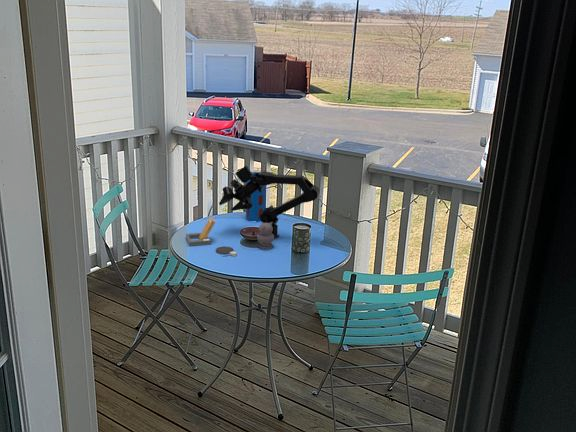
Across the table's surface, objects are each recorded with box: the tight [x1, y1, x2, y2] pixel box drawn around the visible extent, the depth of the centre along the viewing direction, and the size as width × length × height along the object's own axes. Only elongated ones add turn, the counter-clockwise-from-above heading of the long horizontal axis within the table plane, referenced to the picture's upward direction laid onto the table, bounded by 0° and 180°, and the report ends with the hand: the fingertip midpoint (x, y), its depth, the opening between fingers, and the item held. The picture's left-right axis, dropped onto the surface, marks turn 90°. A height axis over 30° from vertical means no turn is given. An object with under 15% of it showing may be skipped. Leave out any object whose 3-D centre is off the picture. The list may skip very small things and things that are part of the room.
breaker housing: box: [185, 232, 212, 247], centre depth 266 cm, size 10×11×3 cm
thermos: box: [245, 171, 267, 223], centre depth 298 cm, size 11×11×25 cm
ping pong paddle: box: [215, 245, 238, 258], centre depth 256 cm, size 10×8×2 cm
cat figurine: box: [256, 222, 275, 250], centre depth 263 cm, size 8×8×12 cm
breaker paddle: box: [199, 216, 216, 240], centre depth 266 cm, size 2×6×11 cm, turn 19°
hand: (225, 207), depth 278 cm, fingers open, 9 cm apart
